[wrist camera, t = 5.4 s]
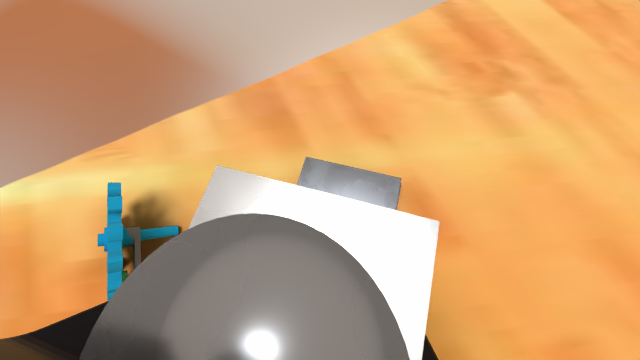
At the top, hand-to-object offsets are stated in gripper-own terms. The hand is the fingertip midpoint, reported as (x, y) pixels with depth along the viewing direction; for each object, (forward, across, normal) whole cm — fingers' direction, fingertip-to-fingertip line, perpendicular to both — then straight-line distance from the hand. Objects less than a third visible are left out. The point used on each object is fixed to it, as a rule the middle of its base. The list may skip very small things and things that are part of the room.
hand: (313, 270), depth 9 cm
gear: (+7, +18, +12) cm, 23 cm away
